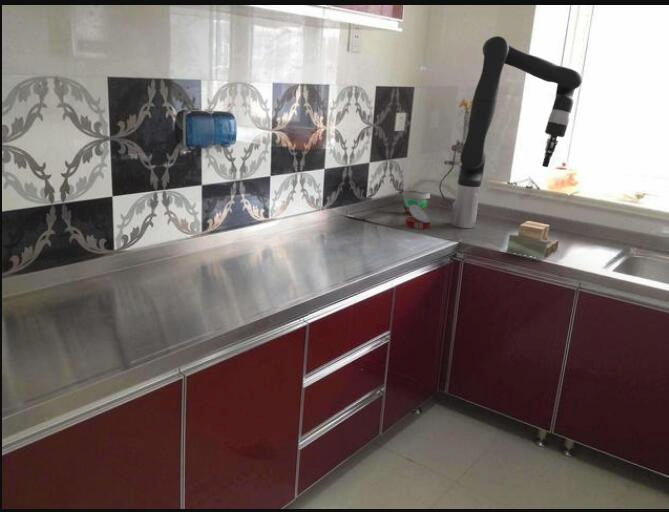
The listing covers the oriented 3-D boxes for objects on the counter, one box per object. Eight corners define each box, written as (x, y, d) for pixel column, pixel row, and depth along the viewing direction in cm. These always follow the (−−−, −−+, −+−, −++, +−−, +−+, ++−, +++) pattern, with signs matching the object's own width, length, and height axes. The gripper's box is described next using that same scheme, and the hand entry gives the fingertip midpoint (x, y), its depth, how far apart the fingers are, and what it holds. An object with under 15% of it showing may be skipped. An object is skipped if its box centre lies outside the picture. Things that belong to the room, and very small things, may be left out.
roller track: (523, 242, 248) (526, 225, 246) (557, 249, 242) (560, 232, 240) (506, 252, 232) (509, 234, 230) (542, 259, 225) (545, 242, 223)
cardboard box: (525, 239, 240) (528, 220, 238) (546, 243, 236) (549, 224, 234) (516, 243, 231) (519, 225, 229) (539, 248, 227) (542, 229, 225)
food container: (399, 214, 279) (401, 192, 277) (400, 211, 285) (402, 189, 282) (427, 217, 278) (430, 195, 275) (428, 215, 283) (430, 192, 281)
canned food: (420, 235, 266) (432, 214, 265) (426, 238, 256) (440, 217, 256) (397, 221, 264) (410, 200, 263) (403, 224, 254) (416, 203, 253)
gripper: (546, 122, 258) (534, 164, 261) (549, 119, 245) (536, 163, 248) (565, 126, 256) (553, 169, 259) (569, 123, 243) (555, 168, 246)
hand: (544, 166), depth 253 cm, fingers closed
